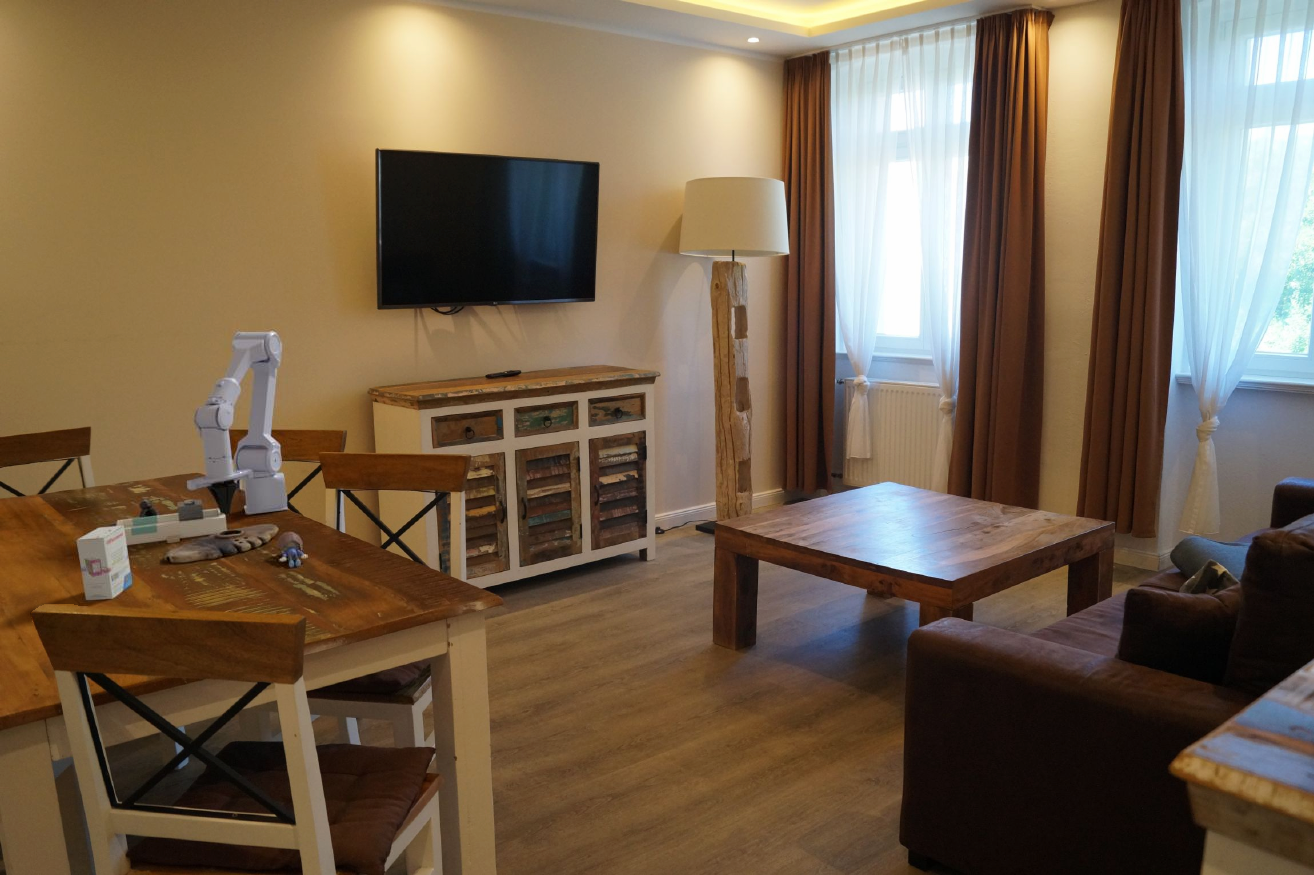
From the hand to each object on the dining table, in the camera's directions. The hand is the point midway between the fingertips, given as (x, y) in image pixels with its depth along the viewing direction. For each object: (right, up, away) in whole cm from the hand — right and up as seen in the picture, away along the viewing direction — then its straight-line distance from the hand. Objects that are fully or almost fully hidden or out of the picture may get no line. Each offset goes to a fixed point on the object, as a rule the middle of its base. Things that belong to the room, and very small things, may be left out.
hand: (224, 514), depth 224 cm
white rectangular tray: (-9, -4, -5) cm, 11 cm away
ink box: (-2, -11, -43) cm, 45 cm away
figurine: (+25, -8, -25) cm, 36 cm away
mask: (+7, -7, -16) cm, 18 cm away
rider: (-6, -2, -3) cm, 7 cm away
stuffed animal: (-20, -3, +5) cm, 21 cm away
